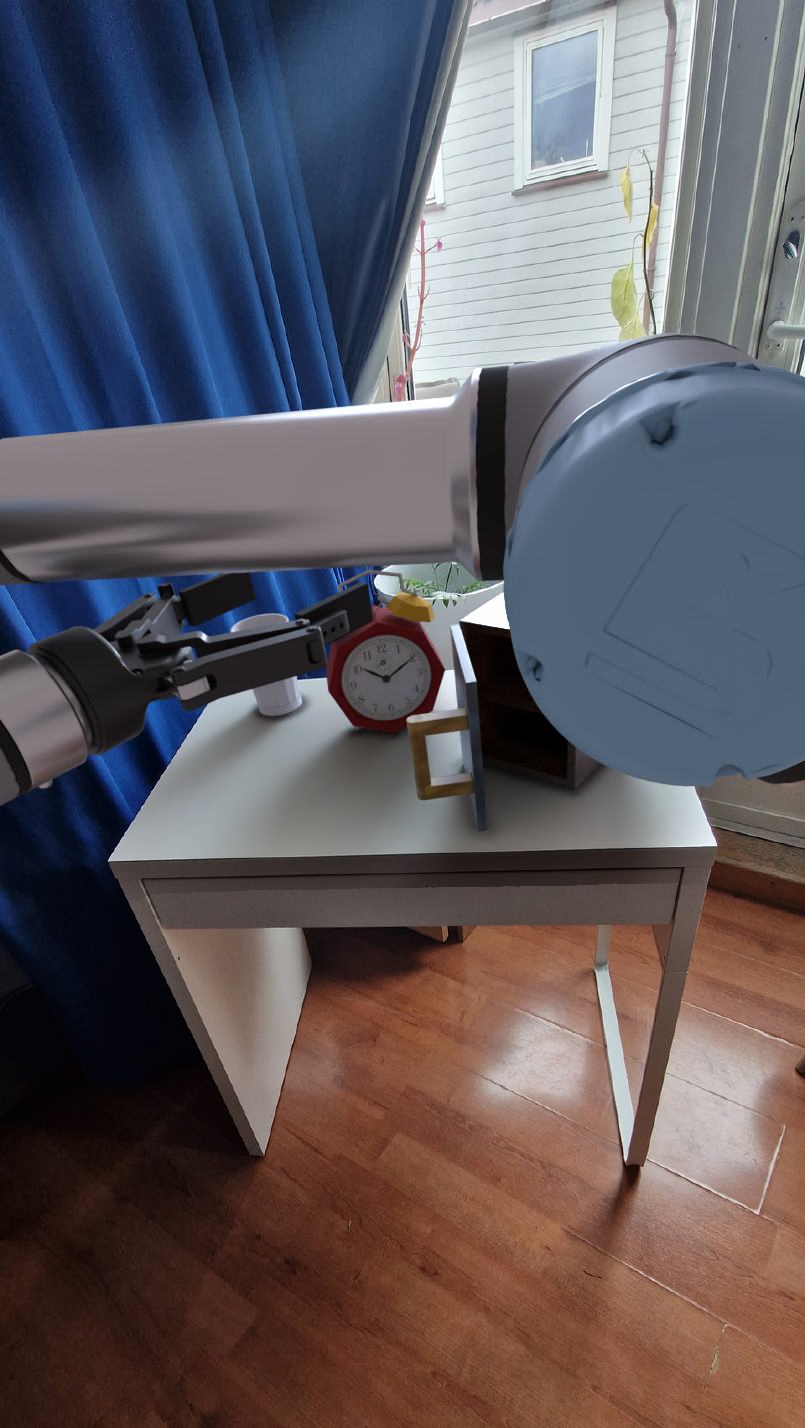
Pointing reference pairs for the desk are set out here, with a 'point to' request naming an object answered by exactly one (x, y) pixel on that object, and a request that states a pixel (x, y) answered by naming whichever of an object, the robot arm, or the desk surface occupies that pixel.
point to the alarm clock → (386, 664)
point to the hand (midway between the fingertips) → (304, 591)
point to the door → (453, 721)
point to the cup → (278, 694)
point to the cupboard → (515, 707)
